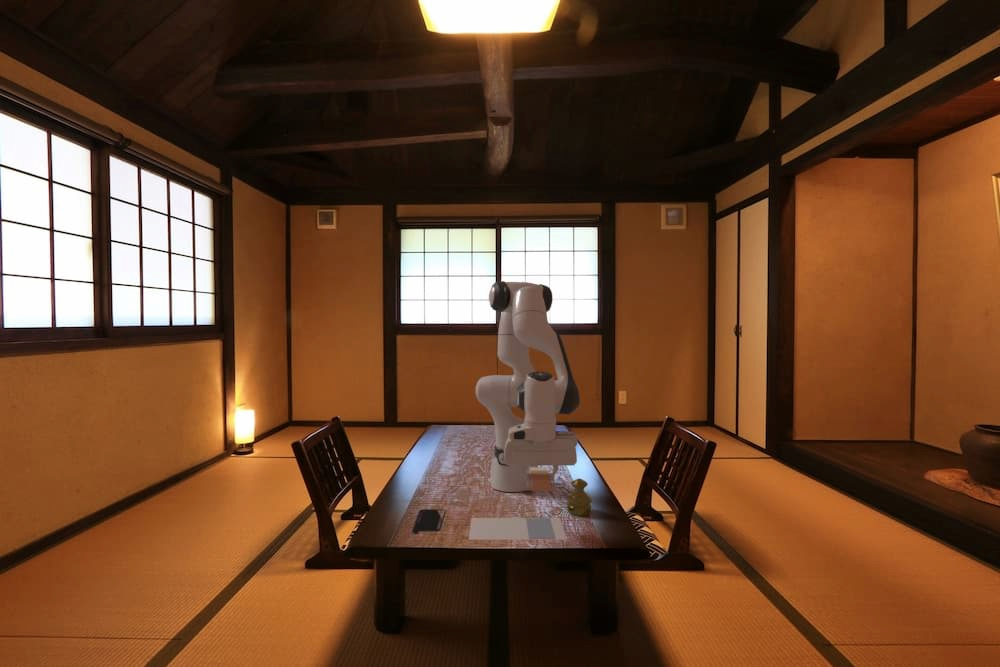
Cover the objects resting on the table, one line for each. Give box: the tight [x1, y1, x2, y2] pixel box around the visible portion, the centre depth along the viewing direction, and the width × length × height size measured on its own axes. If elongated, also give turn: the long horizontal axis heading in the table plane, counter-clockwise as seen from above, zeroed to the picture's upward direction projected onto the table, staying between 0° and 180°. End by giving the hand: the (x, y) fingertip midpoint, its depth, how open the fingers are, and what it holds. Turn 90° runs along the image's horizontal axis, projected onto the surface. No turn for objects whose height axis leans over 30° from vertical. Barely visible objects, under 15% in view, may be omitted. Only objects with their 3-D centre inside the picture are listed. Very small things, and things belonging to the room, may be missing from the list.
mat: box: [468, 517, 568, 541], centre depth 137 cm, size 14×26×1 cm, turn 90°
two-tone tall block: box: [530, 466, 552, 492], centre depth 136 cm, size 11×5×3 cm, turn 0°
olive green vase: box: [566, 478, 593, 517], centre depth 150 cm, size 7×7×10 cm
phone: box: [411, 508, 446, 534], centre depth 142 cm, size 8×1×15 cm
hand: (539, 480), depth 136 cm, fingers closed on two-tone tall block, 5 cm apart
